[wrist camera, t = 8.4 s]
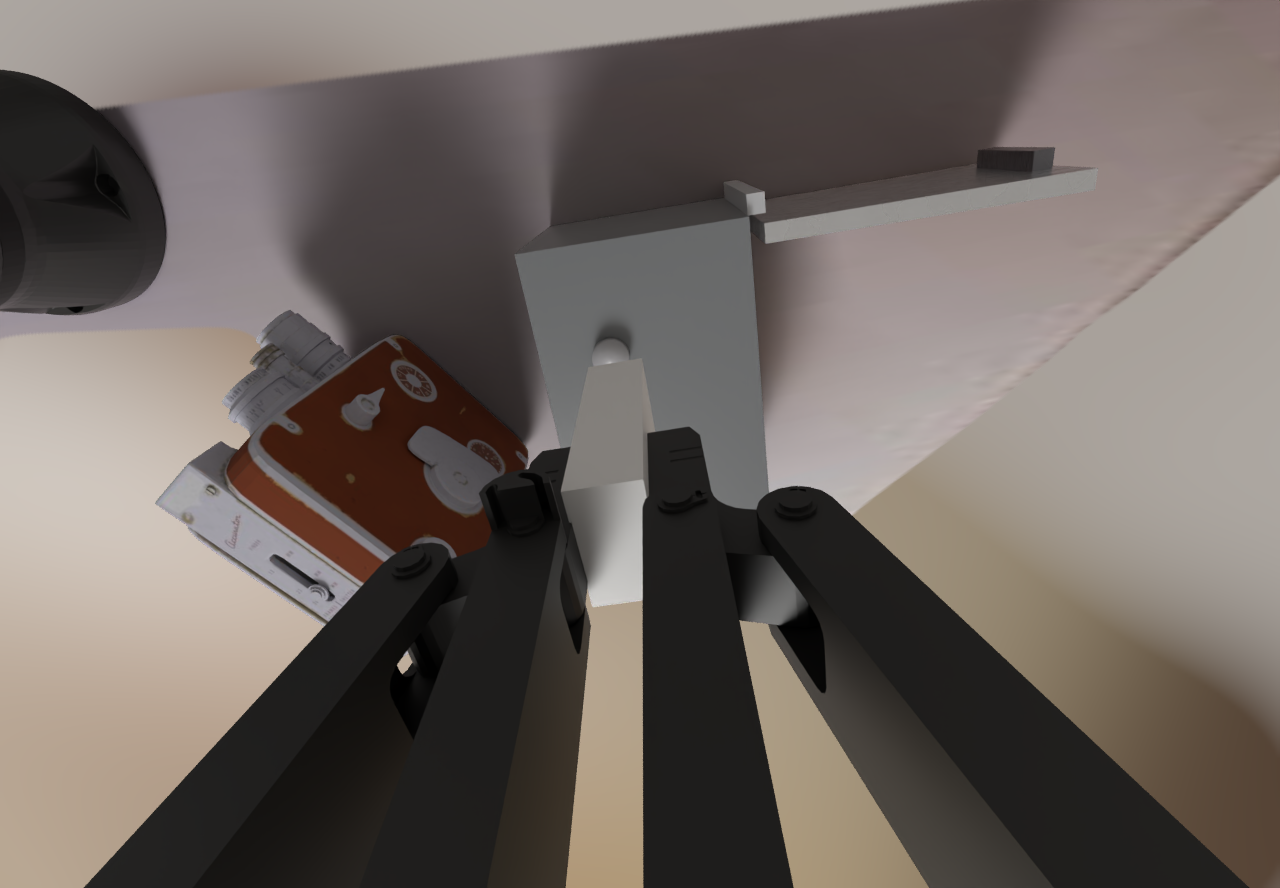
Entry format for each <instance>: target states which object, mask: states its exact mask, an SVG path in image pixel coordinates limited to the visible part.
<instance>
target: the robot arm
mask: <svg viewBox="0 0 1280 888" xmlns="http://www.w3.org/2000/svg"><path fill="white" fill-rule="evenodd" d="M164 250H165V226H164V219H163V214H162V209H161V206H160V202H159V199H158V196H157V193H156V191H155V189H154V186H153V184H152V182H151V180H150V177H149V175H148V174H147V172H146V170H145V168H144V166H143V165H142V163H141V162H140V160H139V158H138V157H137V155H136V154H135V152H134V151H133V150H132V148H131V147H130V146H129V144H128V143H127V142H126V141H125V139H124V138H123V137H122V136H121V135H120V133H119V132H118V131H117V130H116V129H115V128H114V127H113V126H112V125H111V124H110V123H109V122H108V121H107V120H106V119H105V118H104V117H103V116H101V115H100V114H99V113H98V112H97V111H96V110H95V109H93V108H92V107H91V106H89V105H88V104H87V103H85V102H84V101H82V100H81V99H80V98H78V97H77V96H75V95H73V94H72V93H70V92H69V91H67V90H65V89H63V88H61V87H59V86H57V85H55V84H53V83H51V82H49V81H46V80H44V79H41V78H39V77H35V76H32V75H29V74H25V73H20V72H15V71H7V70H0V311H2V312H19V313H38V314H43V313H46V314H54V315H82V314H89V313H94V312H98V311H102V310H105V309H109V308H112V307H115V306H119V305H122V304H124V303H127V302H129V301H131V300H133V299H135V298H136V297H138V296H139V295H140V294H142V293H143V292H144V291H145V290H146V289H147V288H148V287H149V286H150V285H151V283H152V282H153V281H154V279H155V277H156V276H157V274H158V272H159V269H160V267H161V264H162V260H163V256H164ZM479 496H480V498H481V501H482V504H483V507H484V510H485V513H486V516H487V519H488V521H489V524H490V527H491V530H492V531H491V534H490V536H489V539H488V542H487V545H486V546H485V547H482V548H480V549H477V550H475V551H472V552H469V553H466V554H464V555H461V556H458V557H455V558H451V555H450V553H449V550H448V549H447V548H446V547H445V546H444V545H442V544H438V543H432V542H431V543H423V544H416V545H412V546H409V547H407V548H404V549H402V550H401V551H400V552H398V553H396V554H394V555H392V556H391V557H390V558H388V559H387V560H386V561H385V562H384V563H383V564H381V565H380V566H379V568H378V569H377V570H376V571H375V572H374V573H373V574H372V575H371V576H370V577H369V578H368V580H367V581H366V582H365V583H364V584H363V585H362V586H361V587H360V588H359V589H358V590H357V591H356V593H355V594H354V595H353V596H352V597H351V598H350V599H349V600H348V601H347V602H346V603H345V605H344V606H343V607H342V608H341V609H340V610H339V611H338V612H337V613H336V614H335V615H334V616H333V618H332V619H331V620H330V621H329V622H328V623H327V624H326V625H325V626H324V627H323V628H322V630H321V631H320V632H319V633H318V634H317V635H316V636H315V637H314V638H313V639H312V640H311V642H310V643H309V644H308V645H307V646H306V647H305V648H304V649H303V650H302V651H301V652H300V653H299V655H298V656H297V657H296V658H295V659H294V660H293V661H292V662H291V663H290V664H289V665H288V666H287V668H286V669H285V670H284V671H283V672H282V673H281V674H280V675H279V676H278V677H277V678H276V680H275V681H274V682H273V683H272V684H271V685H270V686H269V687H268V688H267V689H266V690H265V691H264V693H263V694H262V695H261V696H260V697H259V698H258V699H257V700H256V701H255V702H254V703H253V704H252V706H251V707H250V708H249V709H248V710H247V711H246V712H245V713H244V714H243V715H242V717H241V718H240V719H239V720H238V721H237V722H236V723H235V724H234V725H233V726H232V727H231V728H230V729H229V731H228V732H227V733H226V734H225V735H224V736H223V737H222V738H221V739H220V740H219V741H218V743H217V744H216V745H215V746H214V747H213V748H212V749H211V750H210V751H209V752H208V753H207V754H206V756H205V757H204V758H203V759H202V760H201V761H200V762H199V763H198V764H197V765H196V767H195V768H194V769H193V770H192V771H191V772H190V773H189V774H188V775H187V776H186V777H185V778H184V779H183V781H182V782H181V783H180V784H179V785H178V786H177V787H176V788H175V789H174V790H173V791H172V793H171V794H170V795H169V796H168V797H167V798H166V799H165V800H164V801H163V802H162V803H161V805H160V806H159V807H158V808H157V809H156V810H155V811H154V812H153V813H152V814H151V815H150V816H149V818H148V819H147V820H146V821H145V822H144V823H143V824H142V825H141V826H140V827H139V828H138V829H137V831H136V832H135V833H134V834H133V835H132V836H131V837H130V838H129V839H128V840H127V841H126V842H125V844H124V845H123V846H122V847H121V848H120V849H119V850H118V851H117V852H116V853H115V855H114V856H113V857H112V858H111V859H110V860H109V861H108V862H107V863H106V864H105V865H104V866H103V868H102V869H101V870H100V871H99V872H98V873H97V874H96V875H95V876H94V877H93V878H92V879H91V880H90V882H89V883H88V884H87V885H86V886H85V887H84V888H565V886H566V876H567V867H568V856H569V845H570V835H571V825H572V814H573V804H574V794H575V783H576V772H577V763H578V752H579V742H580V731H581V721H582V710H583V700H584V690H585V680H586V669H587V659H588V648H589V636H590V627H591V625H590V620H589V615H588V612H587V608H586V605H585V602H586V594H587V589H588V593H589V596H590V600H591V603H592V607H598V606H604V605H612V604H619V603H627V602H634V601H642V600H643V853H644V854H643V865H644V867H643V869H644V870H643V873H644V874H643V876H644V877H643V878H644V880H643V881H644V882H643V884H644V888H793V883H792V878H791V873H790V868H789V863H788V858H787V853H786V848H785V843H784V838H783V834H782V828H781V824H780V818H779V814H778V809H777V804H776V799H775V794H774V789H773V784H772V779H771V774H770V769H769V764H768V759H767V754H766V750H765V745H764V740H763V735H762V730H761V725H760V720H759V715H758V710H757V705H756V701H755V695H754V691H753V686H752V681H751V676H750V672H749V666H748V662H747V656H746V651H745V646H744V641H743V637H742V631H741V627H740V622H739V620H742V621H749V622H757V623H766V624H768V625H769V628H770V631H771V634H772V636H773V637H774V639H775V640H776V642H777V644H778V645H779V647H780V649H781V650H782V652H783V653H784V655H785V657H786V658H787V660H788V661H789V663H790V665H791V666H792V668H793V670H794V671H795V673H796V674H797V676H798V677H799V679H800V681H801V682H802V684H803V686H804V687H805V689H806V690H807V692H808V693H809V695H810V697H811V698H812V700H813V702H814V703H815V705H816V706H817V708H818V710H819V711H820V713H821V715H822V716H823V718H824V719H825V721H826V723H827V724H828V726H829V727H830V729H831V731H832V732H833V734H834V735H835V737H836V739H837V740H838V742H839V743H840V745H841V747H842V748H843V750H844V751H845V753H846V755H847V756H848V758H849V759H850V761H851V763H852V764H853V766H854V768H855V769H856V771H857V772H858V774H859V776H860V777H861V779H862V780H863V782H864V783H865V785H866V787H867V788H868V790H869V792H870V793H871V795H872V796H873V798H874V800H875V801H876V803H877V805H878V806H879V808H880V809H881V811H882V812H883V814H884V816H885V817H886V819H887V821H888V822H889V824H890V825H891V827H892V829H893V830H894V832H895V833H896V835H897V836H898V838H899V840H900V841H901V843H902V845H903V846H904V848H905V850H906V851H907V853H908V854H909V856H910V857H911V859H912V861H913V862H914V864H915V866H916V867H917V869H918V870H919V872H920V874H921V875H922V877H923V878H924V880H925V882H926V883H927V885H928V886H929V888H1249V887H1248V886H1247V885H1246V884H1245V883H1244V882H1243V881H1242V880H1240V879H1239V878H1238V877H1237V876H1236V875H1235V874H1234V873H1233V872H1232V871H1231V870H1230V869H1229V868H1228V867H1227V866H1226V865H1224V864H1223V863H1222V862H1221V861H1220V860H1219V859H1218V858H1217V857H1216V856H1215V855H1214V854H1213V853H1212V852H1211V851H1210V850H1208V849H1207V848H1206V847H1205V846H1204V845H1203V844H1202V843H1201V842H1200V841H1199V840H1198V839H1197V838H1196V837H1195V836H1193V835H1192V834H1191V833H1190V832H1189V831H1188V830H1187V829H1186V828H1185V827H1184V826H1183V825H1182V824H1181V823H1179V821H1178V820H1176V819H1175V818H1174V817H1173V816H1172V815H1171V814H1170V813H1169V812H1168V811H1167V810H1166V809H1165V808H1164V807H1163V806H1161V805H1160V804H1159V803H1158V802H1157V801H1156V800H1155V799H1154V798H1153V797H1152V796H1151V795H1150V794H1149V793H1148V792H1147V791H1145V790H1144V789H1143V788H1142V787H1141V786H1140V785H1139V784H1138V783H1137V782H1136V781H1135V780H1134V779H1133V778H1132V777H1131V776H1129V775H1128V774H1127V773H1126V772H1125V771H1124V770H1123V769H1122V768H1121V767H1120V766H1119V765H1118V764H1117V763H1116V762H1115V761H1113V760H1112V759H1111V758H1110V757H1109V756H1108V755H1107V754H1106V753H1105V752H1104V751H1103V750H1102V749H1101V748H1100V747H1099V746H1097V745H1096V744H1095V743H1094V742H1093V741H1092V740H1091V739H1090V738H1089V737H1088V736H1087V735H1086V734H1085V733H1084V732H1082V731H1081V730H1080V729H1079V728H1078V727H1077V726H1076V725H1075V724H1074V723H1073V722H1072V721H1071V720H1070V719H1069V718H1068V717H1066V716H1065V715H1064V714H1063V713H1062V712H1061V711H1060V710H1059V709H1058V708H1057V707H1056V706H1054V704H1053V703H1051V702H1050V701H1049V700H1048V699H1047V698H1046V697H1045V696H1044V695H1043V694H1042V693H1041V692H1040V691H1039V690H1038V689H1036V687H1034V686H1033V685H1032V684H1031V683H1030V682H1029V681H1028V680H1027V679H1026V678H1025V677H1023V675H1022V674H1021V673H1019V672H1018V671H1017V670H1016V669H1015V668H1014V667H1013V666H1012V665H1011V664H1010V663H1009V662H1008V661H1007V660H1006V659H1005V658H1003V657H1002V656H1001V655H1000V654H999V653H998V652H997V651H996V650H995V649H994V648H993V647H992V646H991V645H990V644H989V643H987V642H986V641H985V640H984V639H983V638H982V637H981V636H980V635H979V634H978V633H977V632H976V631H975V630H974V629H972V628H971V627H970V626H969V625H968V624H967V623H966V622H965V621H964V620H963V619H962V618H961V617H959V615H958V614H956V613H955V612H954V611H953V610H952V609H951V608H950V607H949V606H948V605H947V604H946V603H945V602H944V601H943V600H941V599H940V598H939V597H938V596H937V595H936V594H935V593H934V592H933V591H932V590H931V589H930V588H929V587H928V586H927V585H926V584H924V583H923V582H922V581H921V580H920V579H919V578H918V577H917V576H916V575H915V574H914V573H913V572H911V570H910V569H908V568H907V567H906V566H905V565H904V564H903V563H902V562H901V561H900V560H899V559H898V558H897V557H896V556H894V555H893V554H892V553H891V552H890V551H889V550H888V549H887V548H886V547H885V546H884V545H883V544H882V543H881V542H879V540H877V539H876V538H875V537H874V536H873V535H872V534H871V533H870V532H869V531H868V530H867V529H866V528H865V527H864V526H862V525H861V524H860V523H859V522H858V521H857V520H856V519H855V518H854V517H853V516H852V515H851V514H850V513H849V512H848V511H847V510H845V509H844V508H843V507H842V506H841V505H840V504H839V503H838V502H837V501H836V500H835V499H834V498H833V497H831V496H830V495H828V494H827V493H825V492H823V491H822V490H818V489H814V488H811V487H803V486H800V487H798V486H791V487H786V488H780V489H777V490H775V491H773V492H770V493H768V494H766V495H765V496H764V497H763V498H762V499H761V500H760V501H759V502H758V506H757V509H743V508H735V507H732V506H728V505H726V504H724V503H722V502H720V501H718V500H717V499H716V498H715V497H714V495H713V493H712V491H711V486H710V481H709V477H708V472H707V467H706V462H705V457H704V452H703V448H702V442H701V437H700V434H698V433H697V432H696V431H694V430H693V429H692V428H691V427H682V428H676V429H670V430H663V431H657V432H655V427H654V422H653V416H652V411H651V405H650V400H649V395H648V389H647V384H646V378H645V373H644V367H643V362H642V358H640V359H634V360H628V361H622V362H616V363H610V364H604V365H598V366H593V367H588V371H587V376H586V380H585V385H584V389H583V394H582V398H581V403H580V407H579V412H578V416H577V421H576V425H575V430H574V434H573V439H572V443H571V447H566V448H560V449H554V450H547V451H542V452H541V453H540V454H539V455H538V456H537V457H536V458H535V459H534V460H533V461H532V462H531V464H530V467H529V469H526V470H518V471H514V472H510V473H506V474H504V475H502V476H500V477H497V478H495V479H493V480H492V481H491V482H489V483H488V484H486V485H485V486H484V487H483V488H482V490H481V491H480V492H479ZM407 651H408V653H409V655H410V657H411V660H412V662H413V663H412V664H411V665H410V667H409V668H408V670H407V671H406V672H405V673H403V674H402V673H401V672H400V671H399V669H398V667H397V664H398V663H399V661H400V660H401V658H402V657H403V656H404V654H405V653H406V652H407Z"/></svg>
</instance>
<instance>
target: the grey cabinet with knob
mask: <svg viewBox="0 0 1280 888" xmlns="http://www.w3.org/2000/svg"><path fill="white" fill-rule="evenodd" d="M723 185H724V197H725V198H719V199H713V200H707V201H701V202H695V203H689V204H683V205H677V206H671V207H665V208H658V209H652V210H646V211H640V212H634V213H628V214H622V215H616V216H610V217H604V218H598V219H592V220H586V221H579V222H573V223H567V224H561V225H555V226H550V227H549V228H548V229H546V230H545V231H544V232H542V233H541V234H540V235H539V236H537V237H536V238H535V239H534V240H532V241H531V242H530V243H528V244H527V245H526V246H525V247H523V248H522V249H521V250H519V251H518V252H517V253H516V254H514V255H515V260H516V264H517V268H518V272H519V276H520V280H521V285H522V289H523V293H524V297H525V301H526V305H527V310H528V314H529V318H530V322H531V326H532V330H533V335H534V339H535V343H536V347H537V351H538V355H539V360H540V364H541V368H542V372H543V376H544V380H545V385H546V389H547V393H548V397H549V401H550V405H551V410H552V414H553V418H554V422H555V426H556V430H557V435H558V439H559V443H560V447H561V448H566V447H571V443H572V439H573V434H574V430H575V425H576V421H577V416H578V412H579V407H580V403H581V398H582V394H583V389H584V385H585V380H586V376H587V371H588V367H593V366H598V365H604V364H610V363H616V362H622V361H628V360H634V359H640V358H642V362H643V367H644V373H645V378H646V384H647V389H648V395H649V400H650V405H651V411H652V416H653V422H654V427H655V432H657V431H663V430H670V429H676V428H682V427H691V428H692V429H693V430H694V431H696V432H697V433H698V434H700V437H701V442H702V448H703V452H704V457H705V462H706V467H707V472H708V477H709V481H710V486H711V491H712V493H713V495H714V497H715V498H716V499H717V500H718V501H720V502H722V503H724V504H726V505H728V506H732V507H735V508H743V509H757V506H758V502H759V501H760V500H761V499H762V498H763V497H764V496H765V495H766V494H768V493H769V488H768V474H767V460H766V446H765V432H764V418H763V404H762V390H761V376H760V361H759V347H758V333H757V319H756V305H755V291H754V277H753V263H752V249H751V235H750V221H749V215H755V214H761V213H766V208H765V191H762V190H760V189H758V188H755V187H753V186H750V185H748V184H746V183H743V182H741V181H738V180H733V181H727V182H723Z"/></svg>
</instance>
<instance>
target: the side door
mask: <svg viewBox="0 0 1280 888" xmlns="http://www.w3.org/2000/svg"><path fill="white" fill-rule="evenodd" d="M1054 151H1055V148H1054V147H993V148H988V149H982V150H978V158H977V164H972V165H966V166H960V167H954V168H948V169H942V170H936V171H930V172H925V173H919V174H913V175H907V176H901V177H895V178H889V179H883V180H877V181H872V182H866V183H860V184H854V185H848V186H842V187H836V188H830V189H824V190H819V191H813V192H807V193H801V194H795V195H789V196H783V197H777V198H771V199H765V208H766V213H761V214H755V215H749V221H750V231H752V232H753V233H754V234H755V235H756V236H757V237H758V238H760V239H761V240H762V241H763V242H764V243H765V244H768V243H774V242H780V241H786V240H792V239H798V238H805V237H811V236H817V235H823V234H829V233H835V232H841V231H848V230H854V229H860V228H866V227H872V226H878V225H884V224H890V223H897V222H903V221H909V220H915V219H921V218H927V217H933V216H939V215H946V214H952V213H958V212H964V211H970V210H976V209H982V208H988V207H995V206H1001V205H1007V204H1013V203H1019V202H1025V201H1031V200H1037V199H1044V198H1050V197H1056V196H1062V195H1068V194H1074V193H1080V192H1086V191H1093V190H1095V185H1096V179H1097V173H1098V168H1090V167H1070V166H1053V159H1054Z"/></svg>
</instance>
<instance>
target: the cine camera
mask: <svg viewBox="0 0 1280 888" xmlns="http://www.w3.org/2000/svg"><path fill="white" fill-rule="evenodd" d="M330 338H331V337H330V336H329V335H327V334H326V333H323V332H322V331H320V330H319V329H318V328H317V327H316V326H315V325H313V324H312V323H309V322H308V321H307V320H305V319H304V318H303V317H302V316H301V315H300V314H298V313H297V314H295V313H294V312H292V311H291V310H288V311H286V312H284V313H282V314H281V315H279V316H278V317H277V318H275V319H274V320H273V321H272V322H271V323H270V324H269V325H268V326H267V327H266V328H265V329H264V330H263V331H262V332H261V333H260V335H259V336H258V338H257V341H256V342H257V343H259V344H260V345H261V347H260V348H261V350H260V351H259V352H257V353H256V354H255V356H254V357H253V358H252V359H251V361H250V364H252V365H253V366H254V367H255V368H257V369H256V370H254V371H252V372H251V373H250V374H248V375H247V376H246V377H244V378H243V379H242V380H241V381H240V382H239V383H237V384H236V385H235V387H233V388H232V389H231V390H230V392H229V393H228V394H227V395H226V396H225V397H224V399H223V401H222V403H223V404H224V405H225V406H226V407H228V408H229V409H230V413H229V416H228V419H230V420H231V421H232V422H233V423H236V422H238V423H239V424H241V425H242V426H243V427H244V428H246V429H247V430H248V431H249V433H250V437H249V438H248V440H247V441H246V442H245V443H244V444H243V445H242V446H241V448H240V449H239V450H237V449H234V448H231V447H229V446H228V445H226V444H225V443H223V442H219V443H217V444H216V445H214V446H213V447H211V448H210V449H208V450H207V451H205V452H204V453H203V454H201V455H200V456H198V457H197V458H195V459H194V460H192V461H191V462H189V463H188V464H187V466H186V467H185V468H184V469H183V470H182V471H181V473H180V474H179V475H178V476H177V477H176V478H175V480H174V481H173V482H172V483H171V484H170V486H169V487H168V488H167V489H166V490H165V491H164V493H163V494H162V495H161V496H160V497H159V499H158V500H157V501H156V503H155V504H156V505H158V506H159V507H161V508H162V509H163V510H165V511H166V512H168V513H169V514H171V515H172V516H174V517H175V518H177V519H178V520H180V521H181V522H183V523H184V524H186V525H187V526H188V529H189V531H190V532H191V533H192V534H193V535H194V536H195V537H196V538H197V539H198V540H199V541H200V542H202V543H204V544H205V545H206V546H207V547H209V548H210V549H211V550H213V551H214V552H216V553H217V554H218V555H220V556H221V557H223V558H224V559H225V560H227V561H228V562H230V563H231V564H233V565H234V566H236V567H237V568H239V569H240V570H242V571H243V572H245V573H246V574H248V575H249V576H251V577H252V578H253V579H255V580H256V581H258V582H259V583H261V584H262V585H264V586H265V587H267V588H268V589H270V590H271V591H273V592H274V593H276V594H277V595H279V596H280V597H282V598H283V599H285V600H286V601H287V602H289V603H291V604H292V605H293V606H295V607H296V608H298V609H299V610H301V611H302V612H304V613H305V614H307V615H308V616H310V617H311V618H313V619H314V620H316V621H317V622H319V623H320V624H321V625H323V626H325V625H326V624H327V623H328V622H329V621H330V620H331V619H332V618H333V616H334V615H335V614H336V613H337V612H338V611H339V610H340V609H341V608H342V607H343V606H344V605H345V603H346V602H347V601H348V600H349V599H350V598H351V597H352V596H353V595H354V594H355V593H356V591H357V590H358V589H359V588H360V587H361V586H362V585H363V584H364V583H365V582H366V581H367V580H368V578H369V577H370V576H371V575H372V574H373V573H374V572H375V571H376V570H377V569H378V568H379V566H380V565H381V564H383V563H384V562H385V561H386V560H387V559H388V558H390V557H391V556H392V555H394V554H396V553H398V552H400V551H401V550H402V549H404V548H407V547H409V546H412V545H416V544H423V543H431V542H432V543H438V544H442V545H444V546H445V547H446V548H447V549H448V550H449V553H450V555H451V558H455V557H458V556H461V555H464V554H466V553H469V552H472V551H475V550H477V549H480V548H482V547H485V546H486V545H487V542H488V539H489V536H490V534H491V531H492V530H491V527H490V524H489V521H488V519H487V516H486V513H485V510H484V507H483V504H482V501H481V498H480V496H479V492H480V491H481V490H482V488H483V487H484V486H485V485H486V484H488V483H489V482H491V481H492V480H493V479H495V478H497V477H500V476H502V475H504V474H506V473H510V472H514V471H518V470H526V467H527V463H528V450H527V448H526V447H525V445H524V444H523V443H522V442H521V441H520V439H519V438H518V437H517V436H516V435H515V434H513V433H512V432H511V431H510V430H509V429H508V428H507V427H506V426H505V425H504V424H503V423H501V422H500V421H499V420H498V419H497V418H496V417H495V416H494V415H493V414H492V413H490V412H489V411H488V410H487V409H486V408H485V407H484V406H483V405H482V404H480V403H479V402H478V401H477V400H476V399H475V398H474V397H473V396H472V395H470V394H469V393H468V392H467V391H466V390H465V389H464V388H463V387H462V386H461V385H459V384H458V383H457V382H456V381H455V380H454V379H453V378H452V377H451V376H449V375H448V374H447V373H446V372H445V371H444V370H443V369H442V368H441V367H439V366H438V365H437V364H436V363H435V362H434V361H433V360H432V359H431V358H430V357H428V356H427V355H426V354H425V353H424V352H423V351H422V350H420V349H419V348H418V347H417V346H416V345H415V344H413V343H412V342H411V341H409V340H408V339H406V338H405V337H403V336H401V335H391V336H389V337H387V338H385V339H383V340H381V341H379V342H377V343H375V344H374V345H372V346H371V347H369V348H368V349H366V350H365V351H363V352H362V353H360V354H359V355H357V356H356V357H355V358H353V359H352V360H351V358H350V357H348V356H347V355H346V354H345V353H344V352H343V351H344V348H342V347H341V346H340V345H336V344H335V343H334V342H332V341H331V340H330ZM406 654H408V651H407V652H406V653H405V654H404V656H405V655H406Z"/></svg>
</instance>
